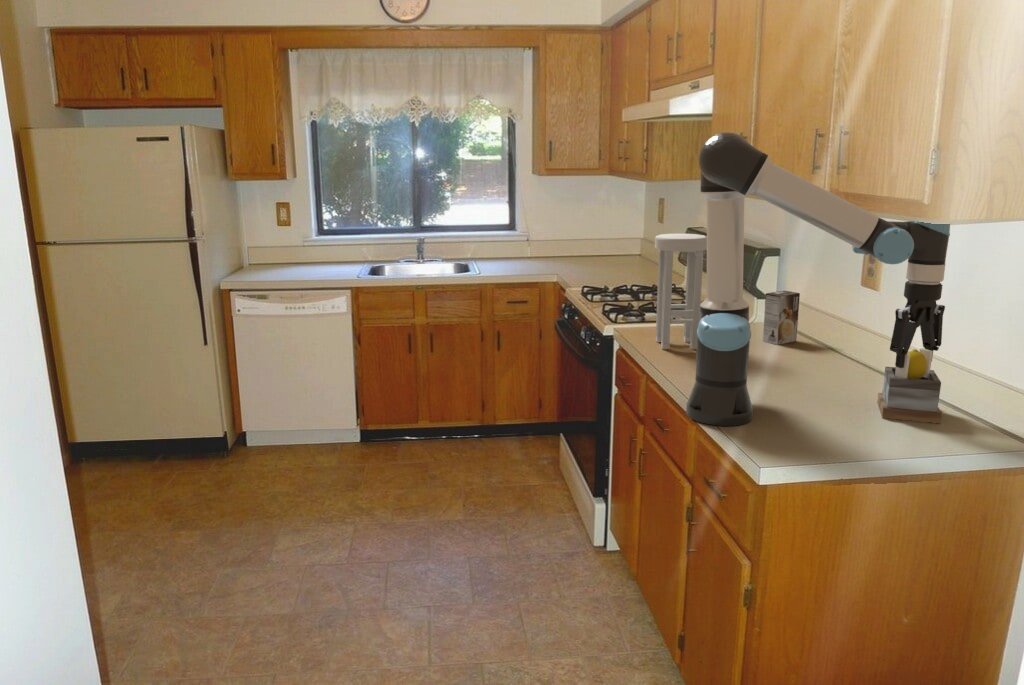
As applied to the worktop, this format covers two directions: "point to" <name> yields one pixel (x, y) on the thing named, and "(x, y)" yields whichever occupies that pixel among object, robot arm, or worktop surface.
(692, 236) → the stool
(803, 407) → the worktop surface
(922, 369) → the lemon
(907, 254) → the robot arm
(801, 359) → the worktop surface
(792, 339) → the coffee box
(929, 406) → the planter box
